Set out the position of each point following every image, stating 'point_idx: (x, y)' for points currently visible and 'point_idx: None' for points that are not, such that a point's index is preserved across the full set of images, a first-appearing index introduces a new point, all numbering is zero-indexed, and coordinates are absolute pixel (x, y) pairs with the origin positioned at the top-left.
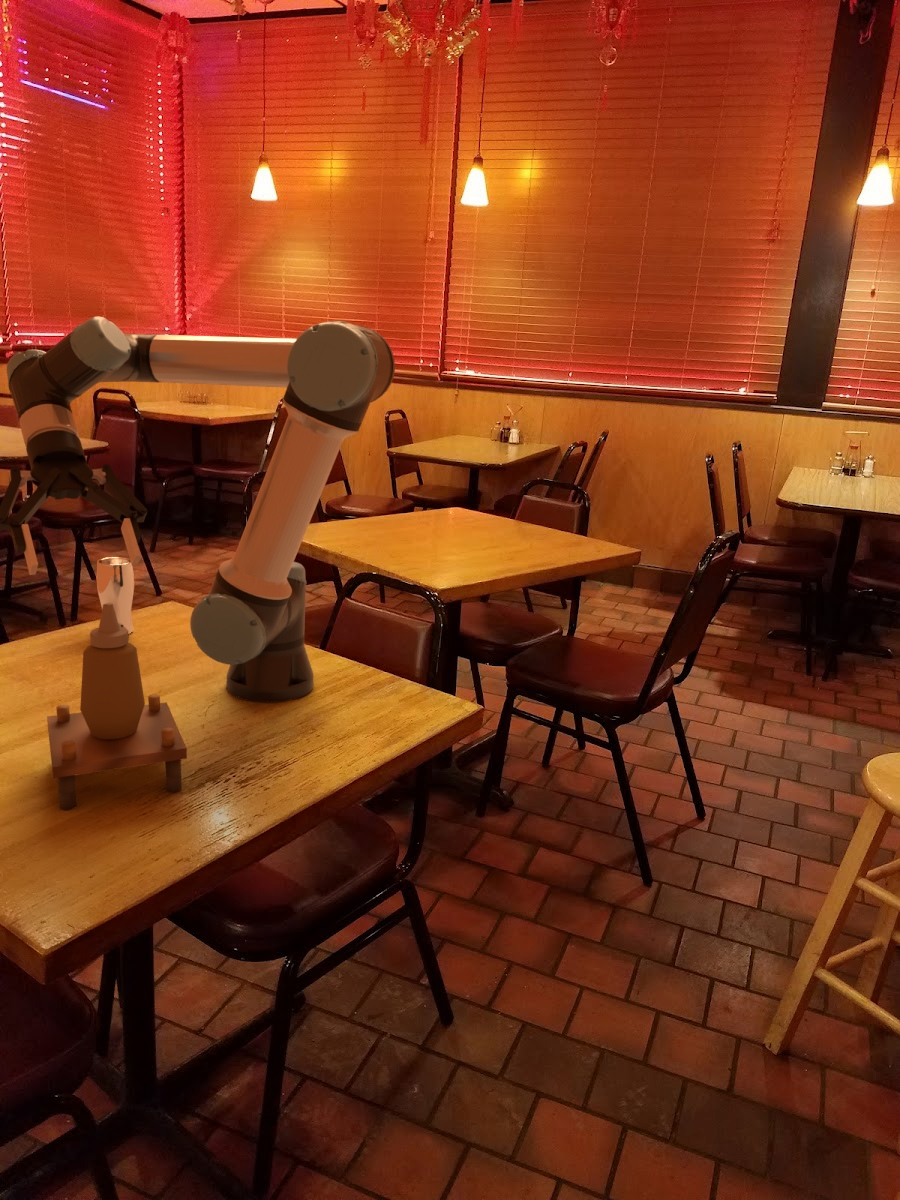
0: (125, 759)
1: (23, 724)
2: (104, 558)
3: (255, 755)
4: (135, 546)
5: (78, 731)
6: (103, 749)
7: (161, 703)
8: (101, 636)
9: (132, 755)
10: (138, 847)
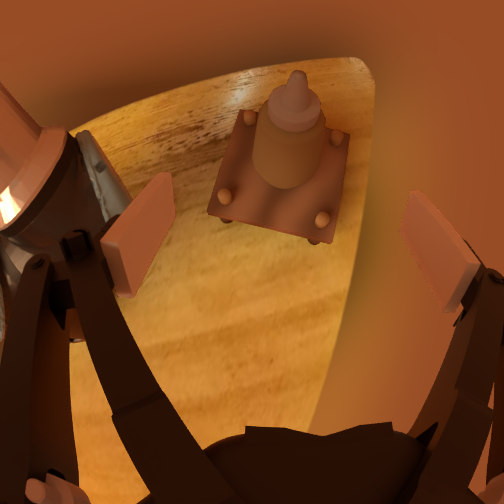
0: None
1: (321, 345)
2: None
3: (164, 161)
4: (154, 185)
5: (314, 187)
6: None
7: (212, 211)
8: (310, 90)
9: None
10: None
